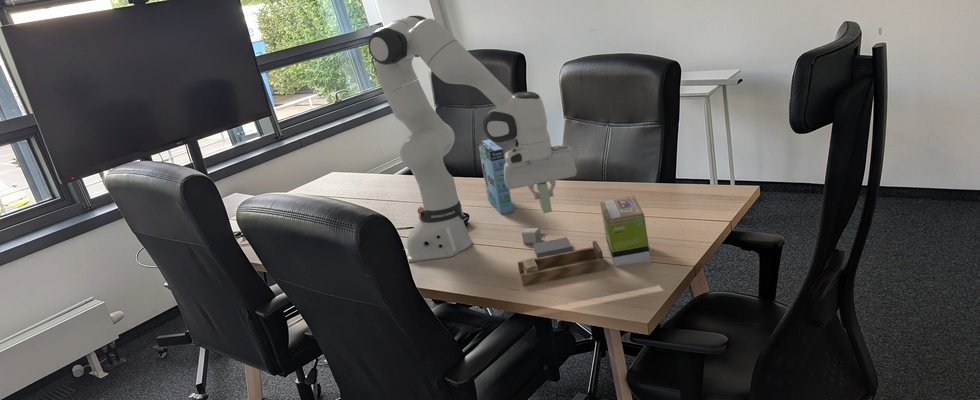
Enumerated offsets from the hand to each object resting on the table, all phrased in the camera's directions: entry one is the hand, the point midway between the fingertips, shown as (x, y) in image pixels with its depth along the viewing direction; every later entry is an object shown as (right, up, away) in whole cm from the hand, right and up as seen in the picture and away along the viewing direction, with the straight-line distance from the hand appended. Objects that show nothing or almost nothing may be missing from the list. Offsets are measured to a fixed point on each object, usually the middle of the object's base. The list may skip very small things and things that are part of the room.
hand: (544, 197), depth 210 cm
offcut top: (-4, -19, -10) cm, 22 cm away
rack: (+4, -21, -9) cm, 23 cm away
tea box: (+23, -16, -6) cm, 29 cm away
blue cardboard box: (-11, -3, +59) cm, 60 cm away
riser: (+3, -16, +5) cm, 18 cm away
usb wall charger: (-1, -14, +18) cm, 22 cm away
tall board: (+1, -3, +1) cm, 4 cm away
